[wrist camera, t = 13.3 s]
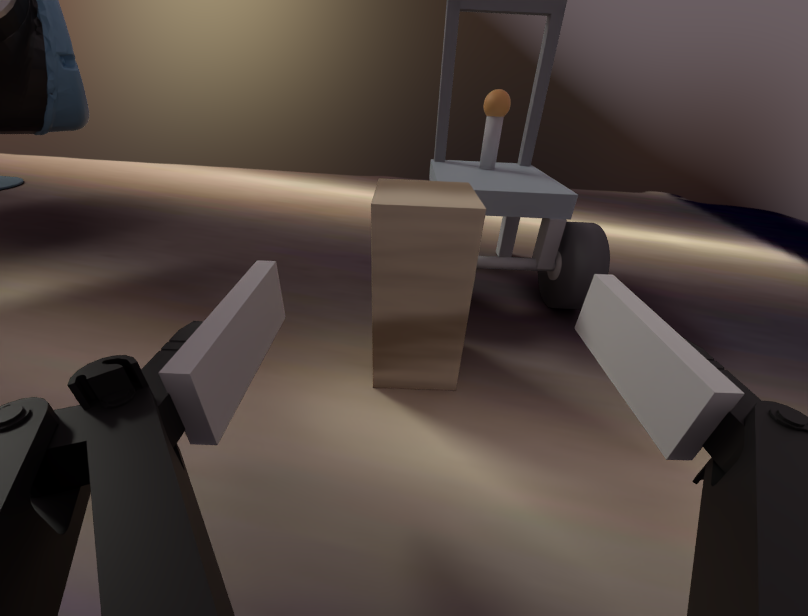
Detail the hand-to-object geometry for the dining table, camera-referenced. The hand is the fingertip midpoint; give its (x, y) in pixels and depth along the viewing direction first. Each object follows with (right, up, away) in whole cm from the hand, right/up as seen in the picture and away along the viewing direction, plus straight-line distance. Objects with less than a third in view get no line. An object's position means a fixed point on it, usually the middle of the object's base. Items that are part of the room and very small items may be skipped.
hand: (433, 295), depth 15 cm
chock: (-1, -4, +8) cm, 9 cm away
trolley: (+6, +2, +19) cm, 20 cm away
